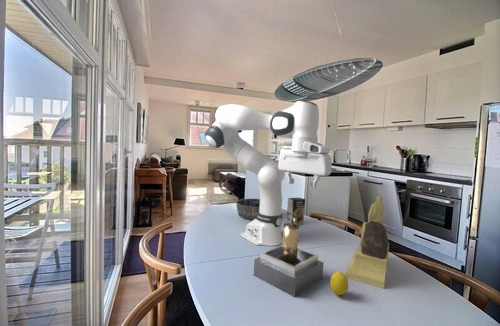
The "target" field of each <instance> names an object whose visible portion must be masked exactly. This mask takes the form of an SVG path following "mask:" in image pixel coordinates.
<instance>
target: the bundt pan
mask: <svg viewBox="0 0 500 326" xmlns="http://www.w3.org/2000/svg"><path fill="white" fill-rule="evenodd" d="M235 204H236V210H237V211H236V212H237V214H238V215H239V217H240V218H242V219H243V218H244V219H245V220H246V219H248V220H249V221H253V220H254V219H256V217H257V215H255V214H256V213H257V212H259V205H260V198H241V199H238V200H236V201H235Z"/></svg>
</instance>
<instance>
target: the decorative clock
mask: <svg viewBox="0 0 500 326" xmlns="http://www.w3.org/2000/svg"><path fill="white" fill-rule="evenodd" d="M374 200H375V201H374V203H372V204H370V208H369V210H368V215H367V217H368V219H367V221H363V223H362V226H361V232H360V243H359V245H358V247H357V248H356V250H355V252H354V254H353V257H352V259H351V260H350V263H349V265H348V267H347V269H346V271H345V275H346V277H347V279H348V280H353V281H355V282H359V283H363V284H366V285H369V286H373V287H377V288H379V289H385V283H386V278H387V277H386V275H387V270H388V262H389V260H388V259H389V252H390V251H389V250H390V242H389V237H388V233H387V229H386V227H385V225H384V224H382V222H383V214H384V211H385V210H384V209H385V208H384V205H383V197H382V196H381V195H378V196H376V197H375V198H374Z"/></svg>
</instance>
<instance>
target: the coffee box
mask: <svg viewBox="0 0 500 326" xmlns="http://www.w3.org/2000/svg"><path fill="white" fill-rule="evenodd" d="M286 207H287V208H286V209H287V210H286V222H285V223H293V218H297V225H299V226H304V224H305V223H304V222H305V220H304V219H305V207H306V199H305V198H302V197H288V198H287V206H286Z"/></svg>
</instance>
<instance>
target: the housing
mask: <svg viewBox="0 0 500 326" xmlns="http://www.w3.org/2000/svg"><path fill="white" fill-rule="evenodd" d="M281 257H282V244H279V245H276V246H275V247H272V248H270V249H267V250H265V251H262V252H260V256H259V257H257V258H255V259H254V260H253V263H254V264H253V276H254V277H257V278H258V279H259V280H262V281H263V282H266V283H267V284H269V285H271V286H273V287H274V288H277V289H278V290H280V291H282V292H284V293H286V294H288V295H289V296H292V297H293V298H295V297H297V296H298V295H300V294H301V293H304V292H305V291H306V290H307V289H309V288H310V287H312V286H314V285H315V284H317V283H318V282H320V280H322V279H323V274H324V261H321V260H319V255H318V254H315V253H312V252H310V251H307V250H304V249H302V248H299V247H298V251H297V262H296V263H294V264H288V263H286V262H283V261H282V260H281Z"/></svg>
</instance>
